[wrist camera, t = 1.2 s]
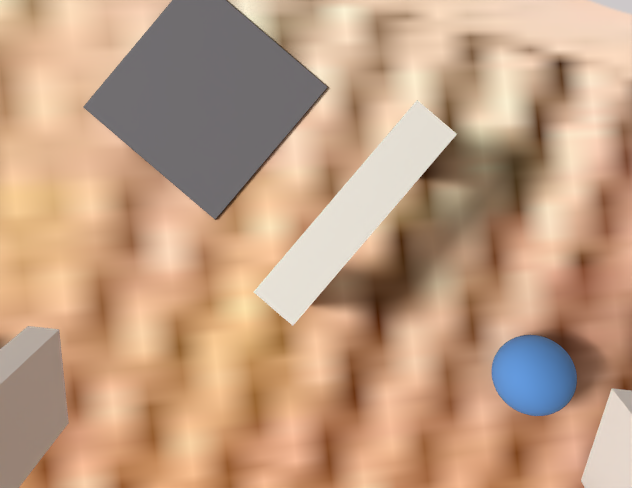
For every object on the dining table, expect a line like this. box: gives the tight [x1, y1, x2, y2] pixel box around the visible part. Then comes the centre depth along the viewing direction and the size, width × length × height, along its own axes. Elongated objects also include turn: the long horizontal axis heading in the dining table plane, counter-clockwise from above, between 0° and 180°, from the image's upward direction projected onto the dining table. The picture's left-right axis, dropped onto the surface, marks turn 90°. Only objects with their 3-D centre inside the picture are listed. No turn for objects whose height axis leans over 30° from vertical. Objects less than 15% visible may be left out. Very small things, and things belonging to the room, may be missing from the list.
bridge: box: [254, 100, 457, 325], centre depth 34 cm, size 3×14×9 cm, turn 139°
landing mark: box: [84, 0, 327, 220], centre depth 39 cm, size 13×13×1 cm
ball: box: [492, 335, 577, 416], centre depth 36 cm, size 6×6×6 cm
